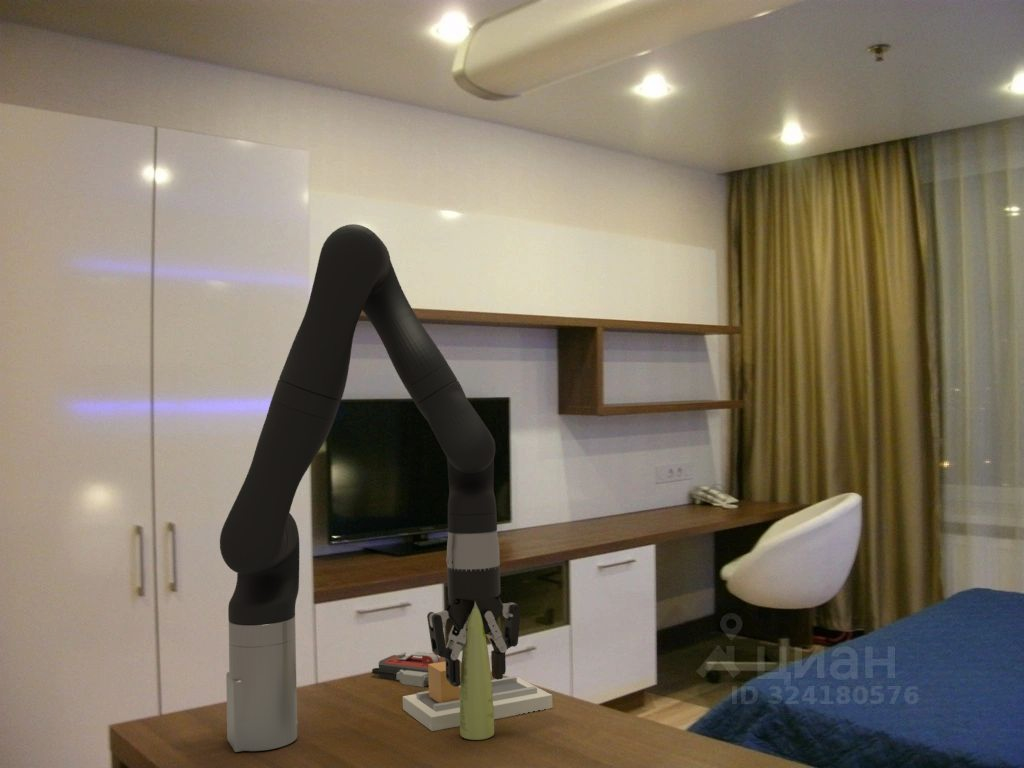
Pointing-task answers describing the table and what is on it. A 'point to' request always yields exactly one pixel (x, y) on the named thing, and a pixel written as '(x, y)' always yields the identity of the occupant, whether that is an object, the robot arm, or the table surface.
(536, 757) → the table surface
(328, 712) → the table surface
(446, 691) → the switch tab
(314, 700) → the table surface
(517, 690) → the switch board
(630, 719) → the table surface
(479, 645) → the tube
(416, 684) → the walkie-talkie
